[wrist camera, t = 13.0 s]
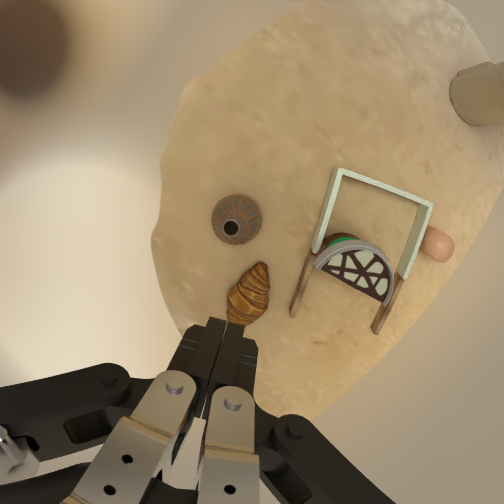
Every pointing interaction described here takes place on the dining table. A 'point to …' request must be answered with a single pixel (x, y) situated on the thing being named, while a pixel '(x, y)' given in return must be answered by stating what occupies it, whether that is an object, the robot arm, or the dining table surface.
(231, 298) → the croissant
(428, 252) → the tan rounded piece
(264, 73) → the dining table surface
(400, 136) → the dining table surface
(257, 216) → the vase
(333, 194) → the bay
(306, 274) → the brown flat strips
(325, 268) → the food container
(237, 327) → the robot arm
